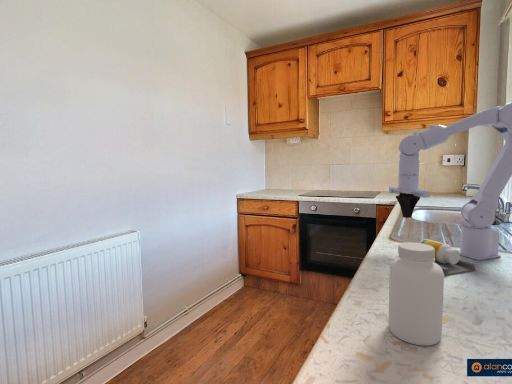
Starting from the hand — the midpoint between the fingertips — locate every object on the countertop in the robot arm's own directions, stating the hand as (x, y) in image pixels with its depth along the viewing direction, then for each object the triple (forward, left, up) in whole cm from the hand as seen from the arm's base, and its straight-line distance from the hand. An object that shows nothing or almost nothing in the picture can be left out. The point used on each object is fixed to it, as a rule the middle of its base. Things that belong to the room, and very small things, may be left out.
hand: (407, 217), depth 96 cm
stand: (+3, +16, -10) cm, 19 cm away
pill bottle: (+35, +38, -11) cm, 53 cm away
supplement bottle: (+2, +8, -7) cm, 11 cm away
